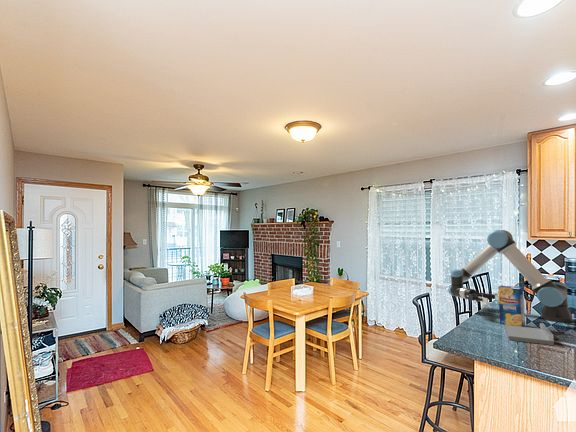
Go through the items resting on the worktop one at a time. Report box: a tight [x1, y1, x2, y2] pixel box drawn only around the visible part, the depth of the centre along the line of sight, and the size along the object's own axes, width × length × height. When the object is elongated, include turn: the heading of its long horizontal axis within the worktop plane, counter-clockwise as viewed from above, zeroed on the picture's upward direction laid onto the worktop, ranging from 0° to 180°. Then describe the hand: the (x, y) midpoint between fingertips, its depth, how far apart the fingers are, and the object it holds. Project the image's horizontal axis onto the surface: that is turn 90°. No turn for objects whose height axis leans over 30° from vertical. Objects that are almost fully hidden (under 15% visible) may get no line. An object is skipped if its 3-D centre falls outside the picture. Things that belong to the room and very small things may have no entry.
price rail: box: [539, 322, 555, 341], centre depth 164 cm, size 22×2×3 cm, turn 151°
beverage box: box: [497, 285, 526, 327], centre depth 190 cm, size 7×11×22 cm, turn 41°
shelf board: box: [503, 324, 555, 346], centre depth 167 cm, size 22×18×2 cm
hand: (496, 300), depth 199 cm, fingers open, 13 cm apart
